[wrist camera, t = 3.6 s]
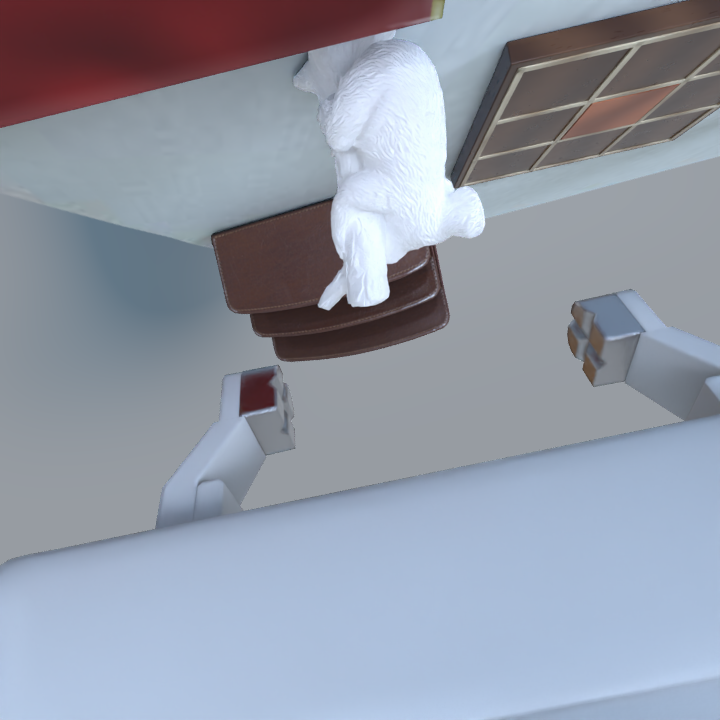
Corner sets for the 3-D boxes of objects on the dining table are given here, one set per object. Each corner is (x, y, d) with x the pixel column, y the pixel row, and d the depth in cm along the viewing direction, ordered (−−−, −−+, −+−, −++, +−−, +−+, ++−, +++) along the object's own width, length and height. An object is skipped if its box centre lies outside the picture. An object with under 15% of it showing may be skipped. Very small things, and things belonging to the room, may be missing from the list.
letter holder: (427, 200, 52) (454, 333, 52) (255, 248, 57) (281, 370, 57) (414, 172, 42) (447, 335, 43) (208, 232, 47) (239, 379, 47)
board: (908, -52, 25) (912, -25, 25) (671, 127, 45) (674, 141, 45) (506, 41, 26) (511, 67, 26) (450, 176, 46) (453, 190, 46)
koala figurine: (292, 103, 27) (338, 320, 27) (231, 33, 21) (292, 318, 21) (447, 49, 25) (495, 284, 25) (433, -49, 19) (499, 269, 19)
